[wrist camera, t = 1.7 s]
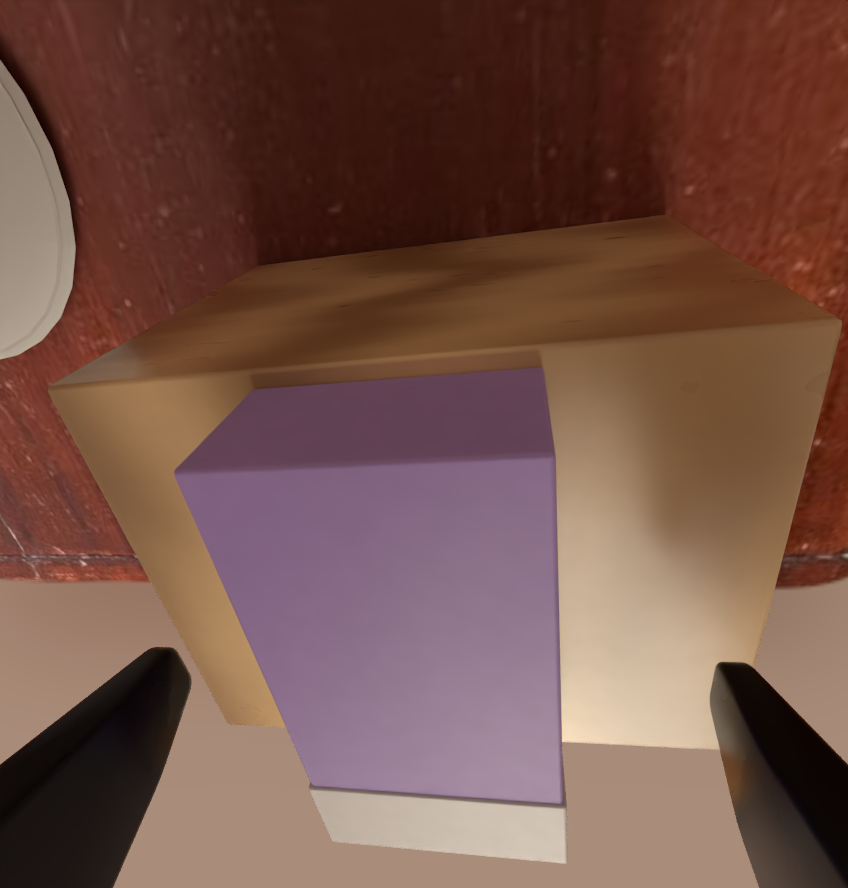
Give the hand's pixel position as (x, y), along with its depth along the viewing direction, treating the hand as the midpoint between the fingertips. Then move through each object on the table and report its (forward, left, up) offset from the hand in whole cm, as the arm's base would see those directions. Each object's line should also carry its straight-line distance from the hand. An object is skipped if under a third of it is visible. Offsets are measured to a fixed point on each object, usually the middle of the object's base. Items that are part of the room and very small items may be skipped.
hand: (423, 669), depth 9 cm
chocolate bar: (0, 0, -2) cm, 2 cm away
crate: (0, 0, -11) cm, 11 cm away
